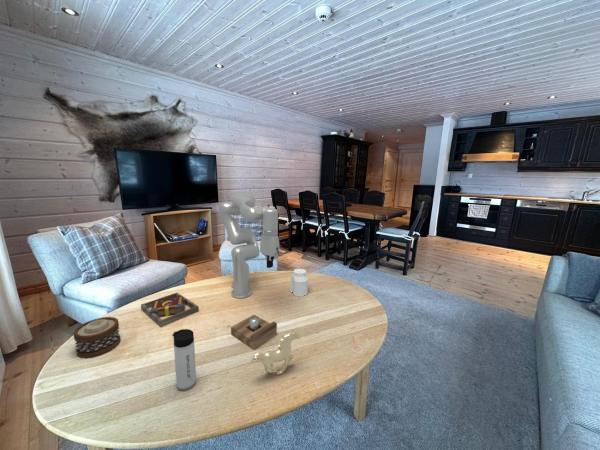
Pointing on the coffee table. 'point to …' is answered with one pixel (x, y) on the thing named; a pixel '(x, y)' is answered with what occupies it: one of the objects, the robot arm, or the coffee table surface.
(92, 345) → the brown drum
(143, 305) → the book frame
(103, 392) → the coffee table surface
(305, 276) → the jar
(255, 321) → the blue-grey domed cylinder
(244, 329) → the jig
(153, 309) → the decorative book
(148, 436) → the coffee table surface
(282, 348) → the unicorn
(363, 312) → the coffee table surface
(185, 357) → the travel mug
